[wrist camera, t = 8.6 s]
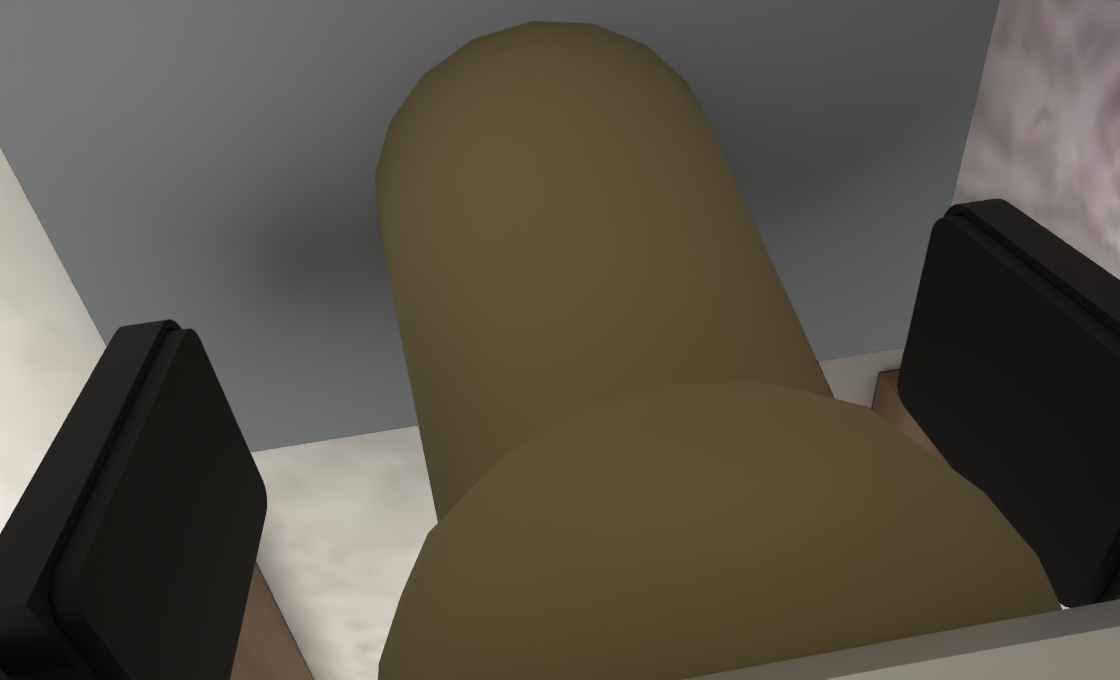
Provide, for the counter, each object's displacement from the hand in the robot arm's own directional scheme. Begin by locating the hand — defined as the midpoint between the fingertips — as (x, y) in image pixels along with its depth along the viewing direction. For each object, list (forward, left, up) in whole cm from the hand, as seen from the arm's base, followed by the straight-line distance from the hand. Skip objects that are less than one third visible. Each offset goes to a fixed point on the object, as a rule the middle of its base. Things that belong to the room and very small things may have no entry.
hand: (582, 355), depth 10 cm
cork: (0, 0, -5) cm, 5 cm away
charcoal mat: (0, 0, -5) cm, 5 cm away
